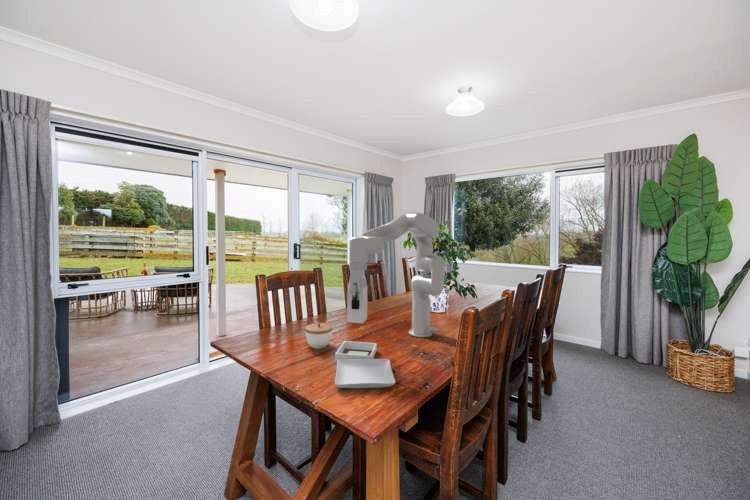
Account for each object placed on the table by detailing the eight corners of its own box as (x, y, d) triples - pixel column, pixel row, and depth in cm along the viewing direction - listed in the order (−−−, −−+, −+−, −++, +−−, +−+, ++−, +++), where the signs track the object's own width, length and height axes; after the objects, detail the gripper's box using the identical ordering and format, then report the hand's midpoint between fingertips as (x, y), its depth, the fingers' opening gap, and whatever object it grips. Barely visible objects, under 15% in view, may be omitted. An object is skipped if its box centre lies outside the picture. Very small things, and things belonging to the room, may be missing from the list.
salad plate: (337, 366, 130) (337, 358, 130) (389, 365, 132) (389, 357, 132) (334, 393, 109) (334, 384, 109) (396, 392, 111) (396, 382, 110)
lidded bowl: (336, 348, 149) (336, 324, 148) (310, 353, 143) (310, 328, 142) (326, 339, 160) (326, 317, 159) (301, 343, 153) (301, 321, 153)
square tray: (376, 350, 147) (376, 343, 146) (370, 364, 132) (371, 356, 131) (344, 348, 149) (344, 340, 149) (335, 361, 134) (335, 353, 134)
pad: (368, 352, 144) (368, 352, 144) (364, 361, 135) (364, 360, 135) (349, 351, 145) (349, 350, 145) (344, 359, 136) (344, 358, 136)
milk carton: (363, 323, 135) (364, 278, 134) (346, 322, 136) (347, 278, 135) (366, 319, 142) (367, 276, 140) (351, 318, 143) (352, 275, 142)
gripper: (354, 263, 147) (353, 301, 148) (344, 268, 129) (343, 311, 131) (370, 264, 145) (369, 302, 147) (362, 268, 128) (361, 312, 129)
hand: (357, 306), depth 139 cm, fingers closed on milk carton, 7 cm apart
